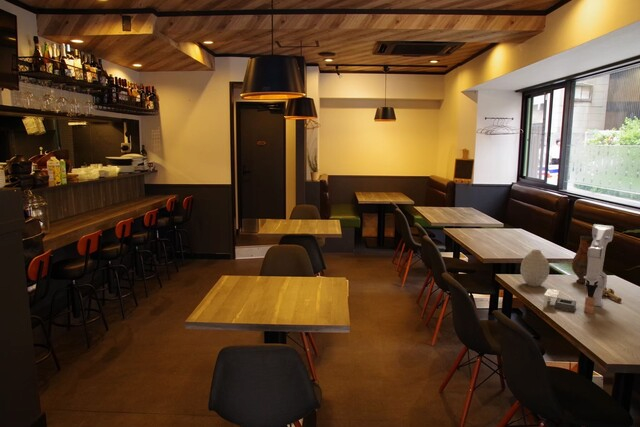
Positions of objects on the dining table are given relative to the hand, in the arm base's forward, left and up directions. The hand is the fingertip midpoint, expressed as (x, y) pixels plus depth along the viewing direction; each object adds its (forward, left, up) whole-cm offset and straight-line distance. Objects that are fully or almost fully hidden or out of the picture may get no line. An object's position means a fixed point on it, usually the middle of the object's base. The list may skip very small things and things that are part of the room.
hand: (590, 294), depth 249 cm
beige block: (+1, -18, -9) cm, 20 cm away
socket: (+1, -11, -9) cm, 14 cm away
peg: (0, 0, -9) cm, 9 cm away
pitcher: (-58, -6, -10) cm, 60 cm away
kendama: (-35, +7, -10) cm, 37 cm away
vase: (-34, -33, -10) cm, 49 cm away
